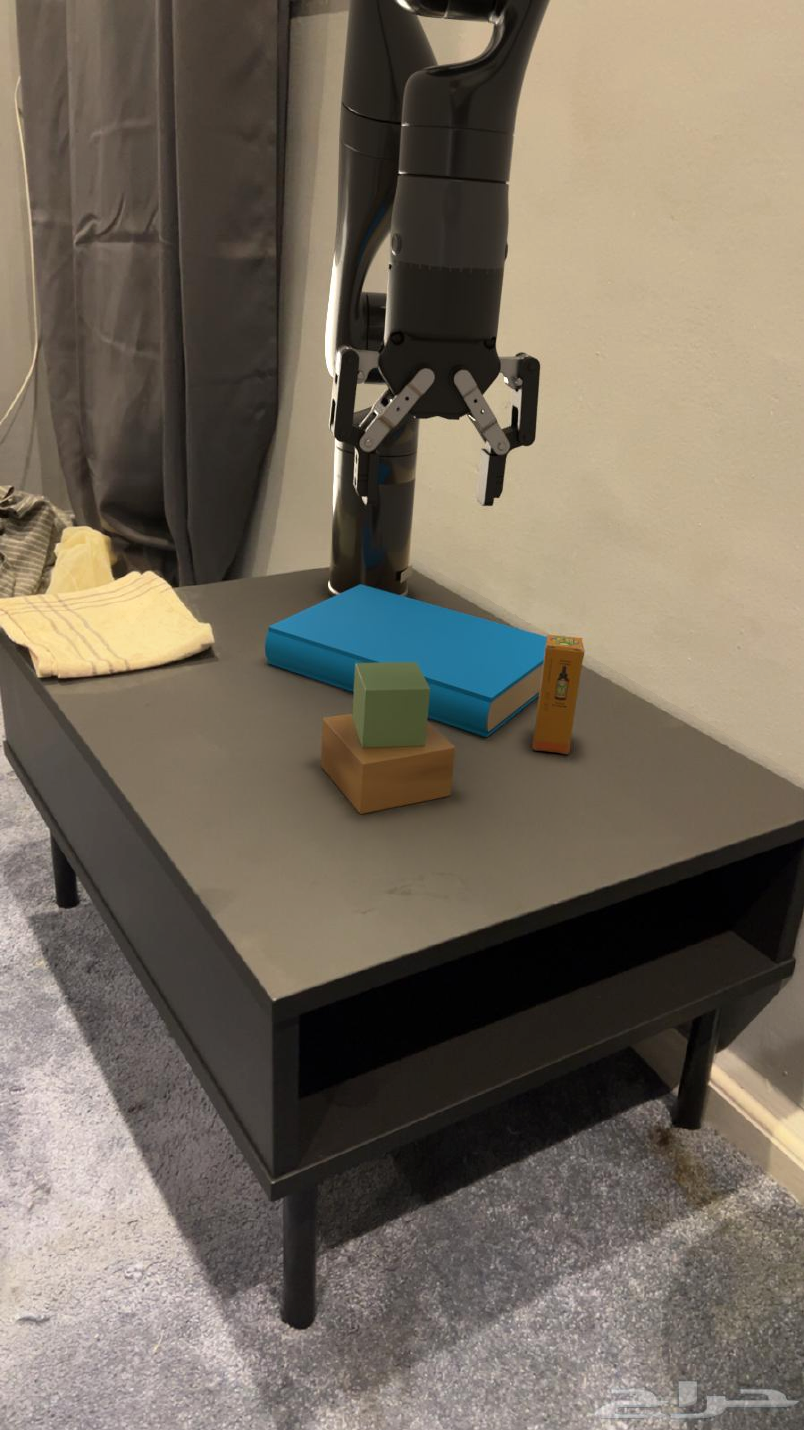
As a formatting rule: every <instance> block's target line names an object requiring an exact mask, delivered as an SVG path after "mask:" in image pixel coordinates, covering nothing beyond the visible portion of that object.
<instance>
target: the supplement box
mask: <svg viewBox="0 0 804 1430" xmlns="http://www.w3.org/2000/svg"><path fill="white" fill-rule="evenodd" d="M546 637H547V640H546V646H545V654H544V662H543V669H542V677H541V685H540V692H539V696H538V701H537V707H536V708H537V709H536V714H535V724H534V732H533V739H532V750H533V751H537V752H538V751H539V752H549V753H558V754H562V755H569V753H570V750H571V740H572V733H573V727H574V720H575V713H576V708H577V699H578V693H579V688H580V687H579V686H580V679H581V674H582V667H583V662H584V656H585V652H586V651H585V647H584V642H583V637H577V636H576V637H575V636H565V635H555V634H547V635H546Z"/></svg>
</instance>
